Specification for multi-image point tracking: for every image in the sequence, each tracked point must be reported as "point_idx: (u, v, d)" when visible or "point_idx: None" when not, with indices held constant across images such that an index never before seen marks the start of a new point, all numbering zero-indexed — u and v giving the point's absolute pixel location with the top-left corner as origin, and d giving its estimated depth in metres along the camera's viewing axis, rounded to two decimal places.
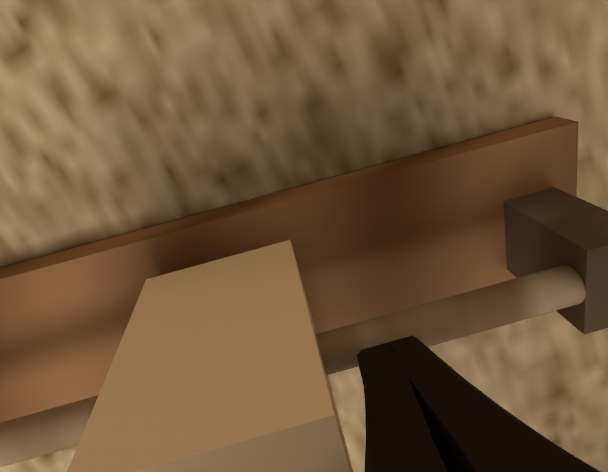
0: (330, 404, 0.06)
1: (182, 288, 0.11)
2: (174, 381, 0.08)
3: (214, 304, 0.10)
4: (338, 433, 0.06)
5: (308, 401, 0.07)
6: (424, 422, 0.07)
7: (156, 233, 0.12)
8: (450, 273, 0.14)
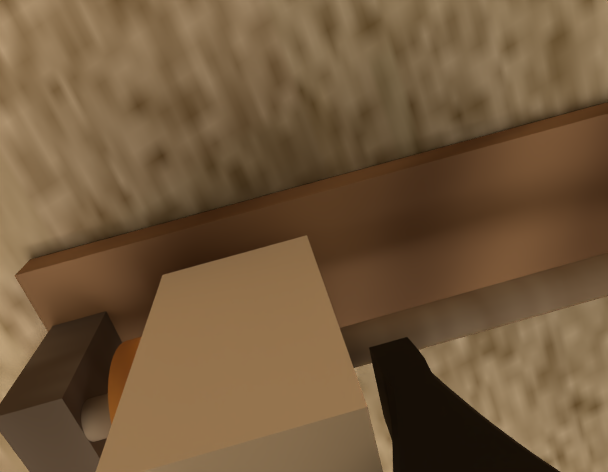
0: (362, 396, 0.06)
1: (200, 283, 0.11)
2: (201, 375, 0.08)
3: (234, 299, 0.10)
4: (370, 425, 0.06)
5: (340, 393, 0.07)
6: (450, 414, 0.07)
7: (401, 166, 0.13)
8: None
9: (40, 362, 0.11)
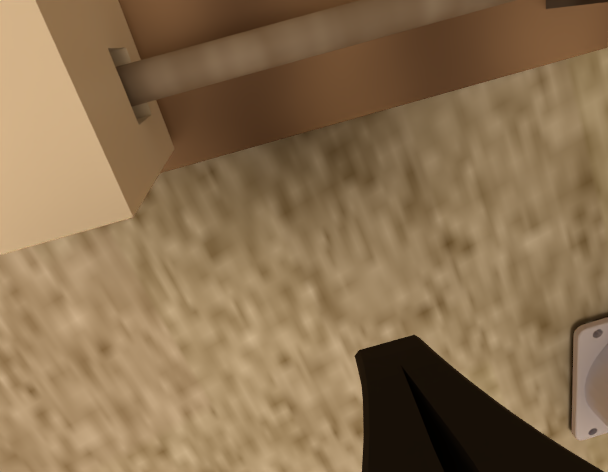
0: None
1: None
2: None
3: None
4: None
5: None
6: (422, 423, 0.07)
7: None
8: (492, 9, 0.15)
9: None
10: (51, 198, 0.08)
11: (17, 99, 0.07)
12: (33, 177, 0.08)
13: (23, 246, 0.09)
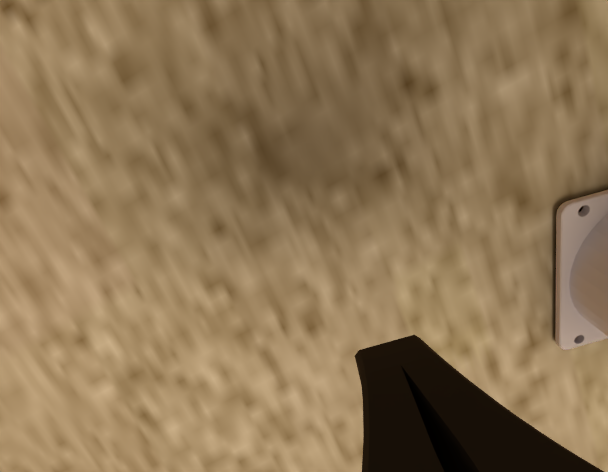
0: None
1: None
2: None
3: None
4: None
5: None
6: (422, 423, 0.07)
7: None
8: None
9: None
10: None
11: None
12: None
13: None
